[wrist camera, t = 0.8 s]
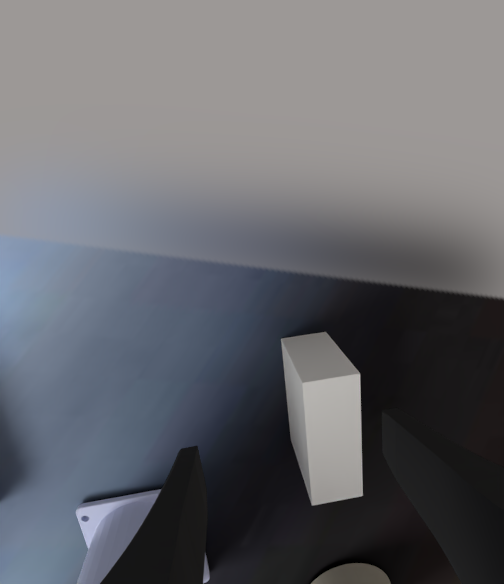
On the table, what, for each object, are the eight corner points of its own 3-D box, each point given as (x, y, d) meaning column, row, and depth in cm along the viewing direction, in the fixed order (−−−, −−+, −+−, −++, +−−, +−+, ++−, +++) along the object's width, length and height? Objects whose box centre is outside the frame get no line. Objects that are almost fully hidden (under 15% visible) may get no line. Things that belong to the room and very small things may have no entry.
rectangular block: (330, 431, 25) (362, 495, 19) (290, 438, 24) (312, 505, 19) (325, 331, 22) (360, 373, 17) (280, 337, 22) (302, 382, 17)
